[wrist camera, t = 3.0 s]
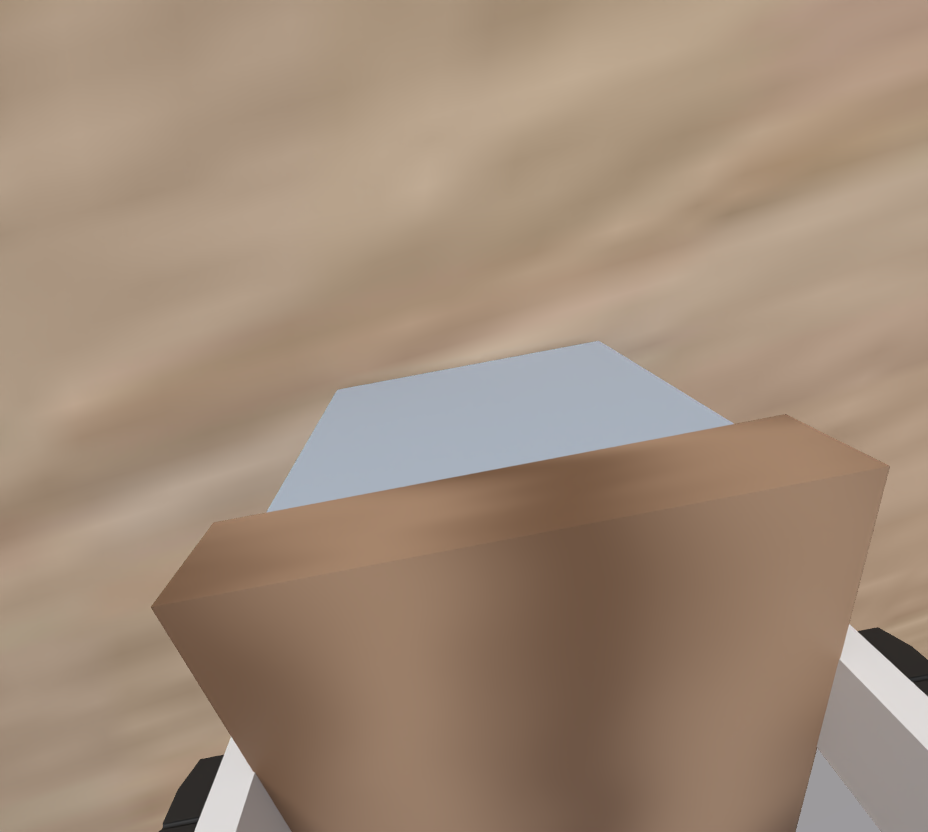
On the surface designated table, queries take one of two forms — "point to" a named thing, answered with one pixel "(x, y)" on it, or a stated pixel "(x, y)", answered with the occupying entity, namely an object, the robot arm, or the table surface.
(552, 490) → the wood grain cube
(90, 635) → the table surface
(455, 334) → the table surface
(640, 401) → the slide box
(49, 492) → the table surface
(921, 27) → the table surface
